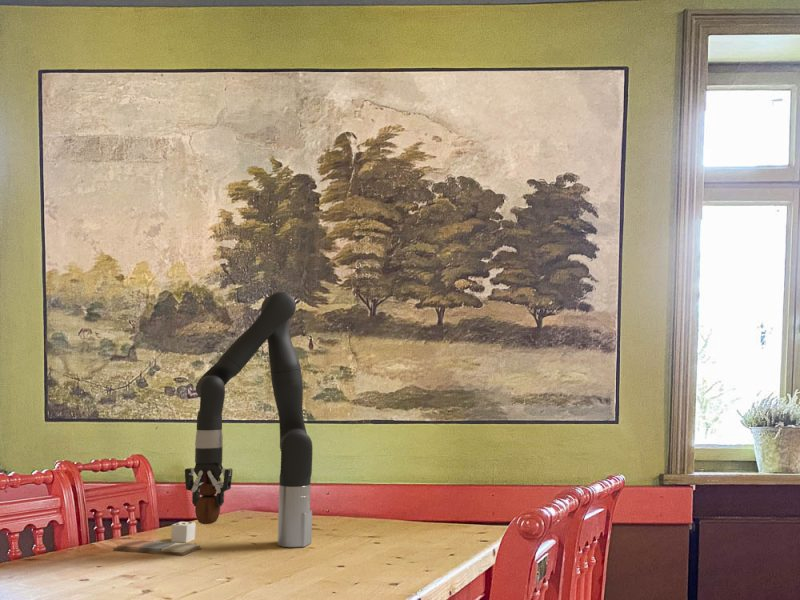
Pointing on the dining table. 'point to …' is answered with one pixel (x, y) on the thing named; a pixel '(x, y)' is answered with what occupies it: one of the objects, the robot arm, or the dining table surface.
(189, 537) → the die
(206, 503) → the wooden figurine
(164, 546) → the game strip
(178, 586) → the dining table surface
